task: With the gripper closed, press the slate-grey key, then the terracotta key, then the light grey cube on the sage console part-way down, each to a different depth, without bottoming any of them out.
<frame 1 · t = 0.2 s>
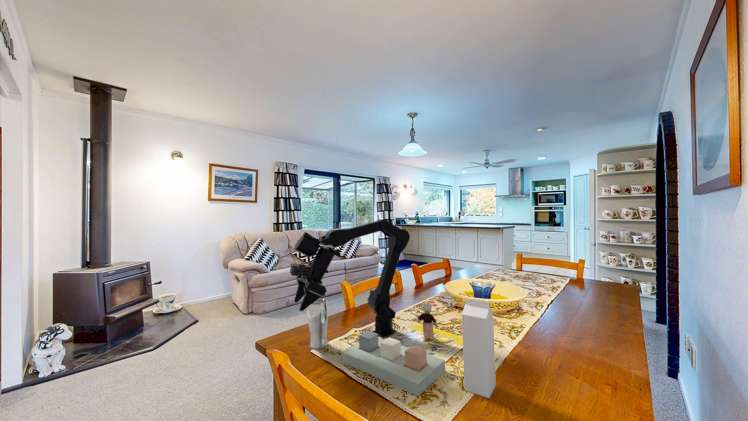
hand: (297, 306, 96), 15 cm above the table, tool tilted 30°, fingers open, 9 cm apart
light grey cube: (390, 349, 84), point 5 cm above the table, slide at 0.0 cm
grandmother figurine: (428, 340, 100), on the table
console: (391, 366, 84), on the table
terracotta key: (415, 358, 79), point 5 cm above the table, slide at 0.0 cm
beer glass: (318, 345, 99), on the table
slate key: (368, 341, 90), point 5 cm above the table, slide at 0.0 cm
milk: (480, 388, 72), on the table
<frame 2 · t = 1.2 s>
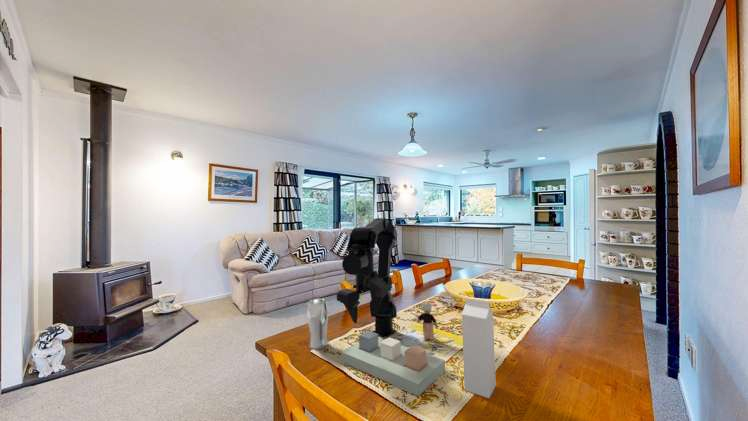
hand: (366, 318, 90), 12 cm above the table, tool pointing down, fingers open, 9 cm apart
nothing on the table moved.
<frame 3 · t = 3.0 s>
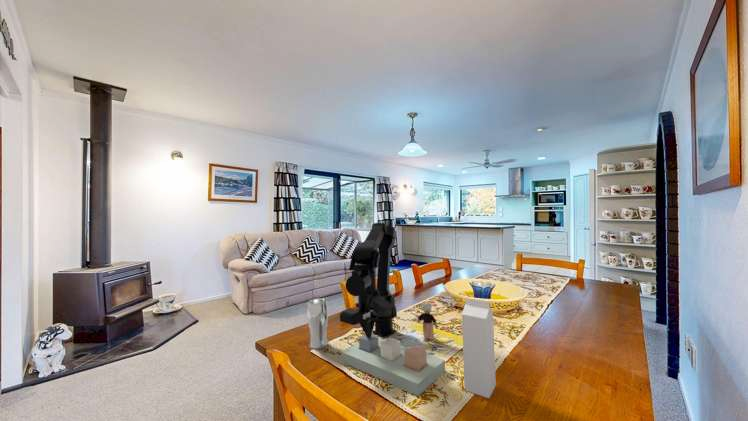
hand: (368, 337, 90), 6 cm above the table, tool pointing down, fingers closed, pressing on slate key
slate key: (368, 344, 90), point 4 cm above the table, slide at 0.8 cm, touching gripper
everything else where it was.
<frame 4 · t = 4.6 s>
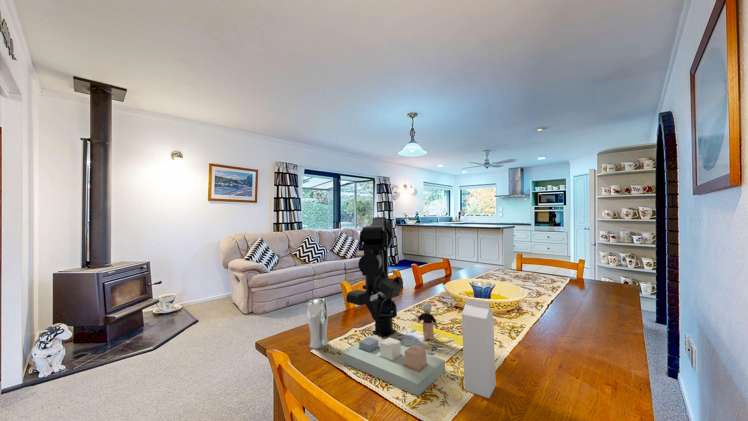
hand: (376, 320, 87), 12 cm above the table, tool pointing down, fingers closed
slate key: (369, 348, 90), point 3 cm above the table, slide at 2.0 cm
everything else where it was.
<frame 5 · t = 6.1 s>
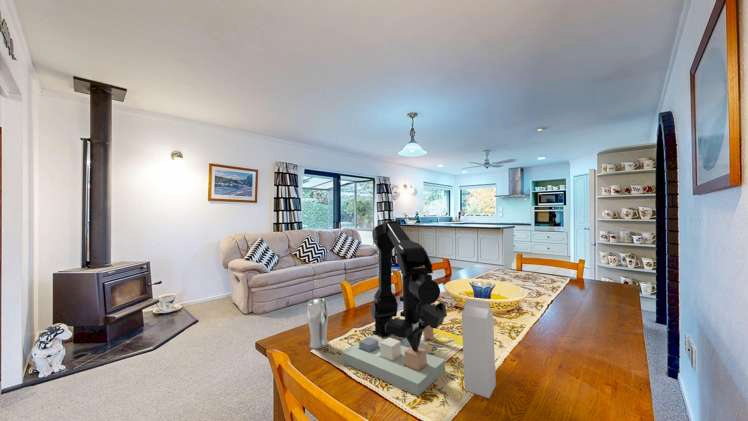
hand: (415, 350, 79), 7 cm above the table, tool pointing down, fingers closed, pressing on terracotta key
terracotta key: (415, 358, 79), point 5 cm above the table, slide at 0.1 cm, touching gripper
everything else where it was.
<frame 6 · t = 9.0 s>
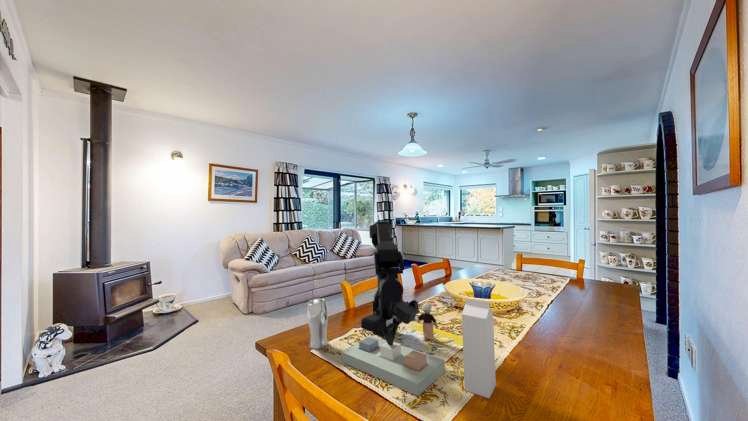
hand: (390, 344, 84), 6 cm above the table, tool pointing down, fingers closed, pressing on light grey cube
light grey cube: (390, 352, 84), point 4 cm above the table, slide at 0.9 cm, touching gripper
terracotta key: (415, 363, 79), point 3 cm above the table, slide at 1.4 cm
everything else where it was.
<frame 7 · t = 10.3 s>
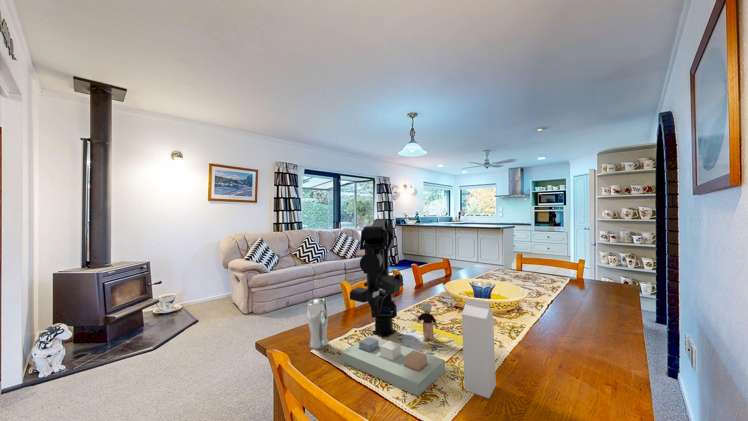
hand: (377, 315, 91), 12 cm above the table, tool pointing down, fingers closed
light grey cube: (390, 352, 84), point 4 cm above the table, slide at 0.9 cm
everything else where it was.
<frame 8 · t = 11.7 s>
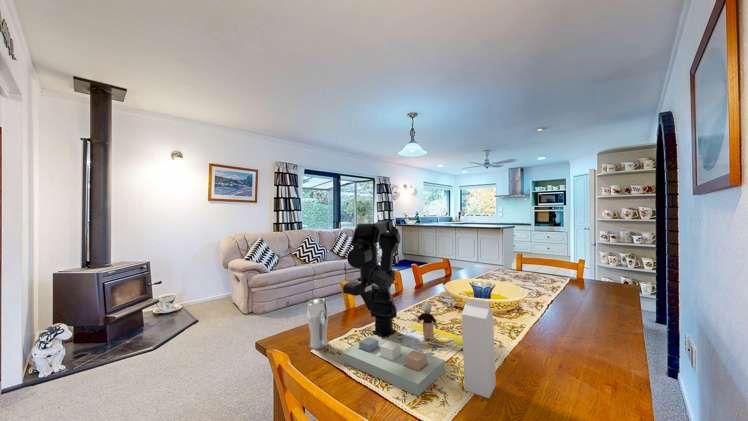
hand: (370, 310, 94), 13 cm above the table, tool pointing down, fingers closed
nothing on the table moved.
at the end: slate key slide at 2.0 cm; terracotta key slide at 1.4 cm; light grey cube slide at 0.9 cm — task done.
